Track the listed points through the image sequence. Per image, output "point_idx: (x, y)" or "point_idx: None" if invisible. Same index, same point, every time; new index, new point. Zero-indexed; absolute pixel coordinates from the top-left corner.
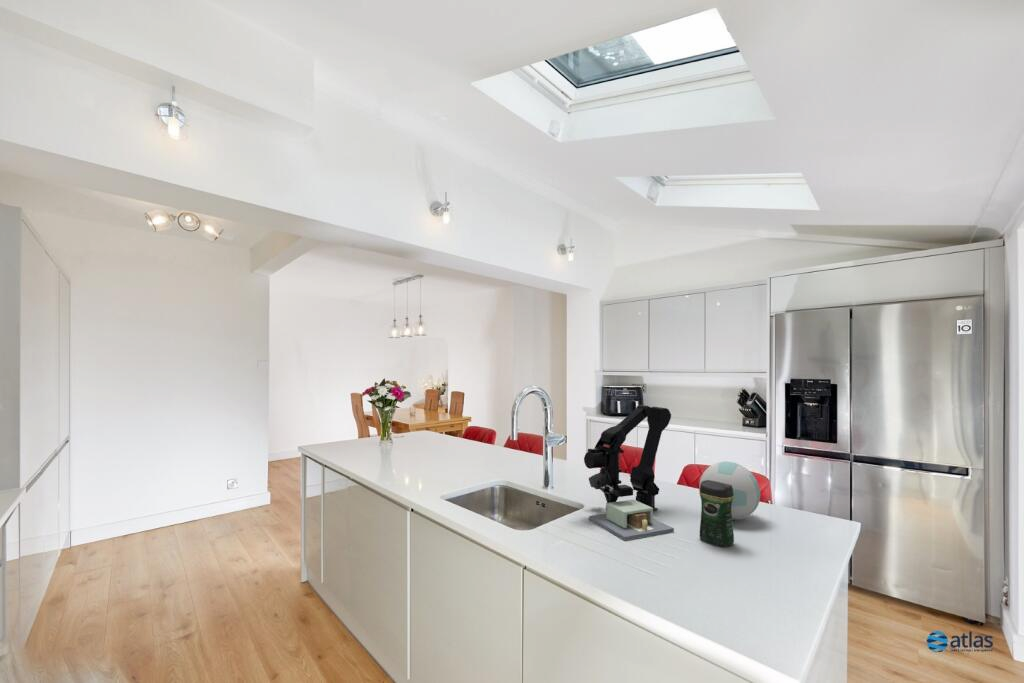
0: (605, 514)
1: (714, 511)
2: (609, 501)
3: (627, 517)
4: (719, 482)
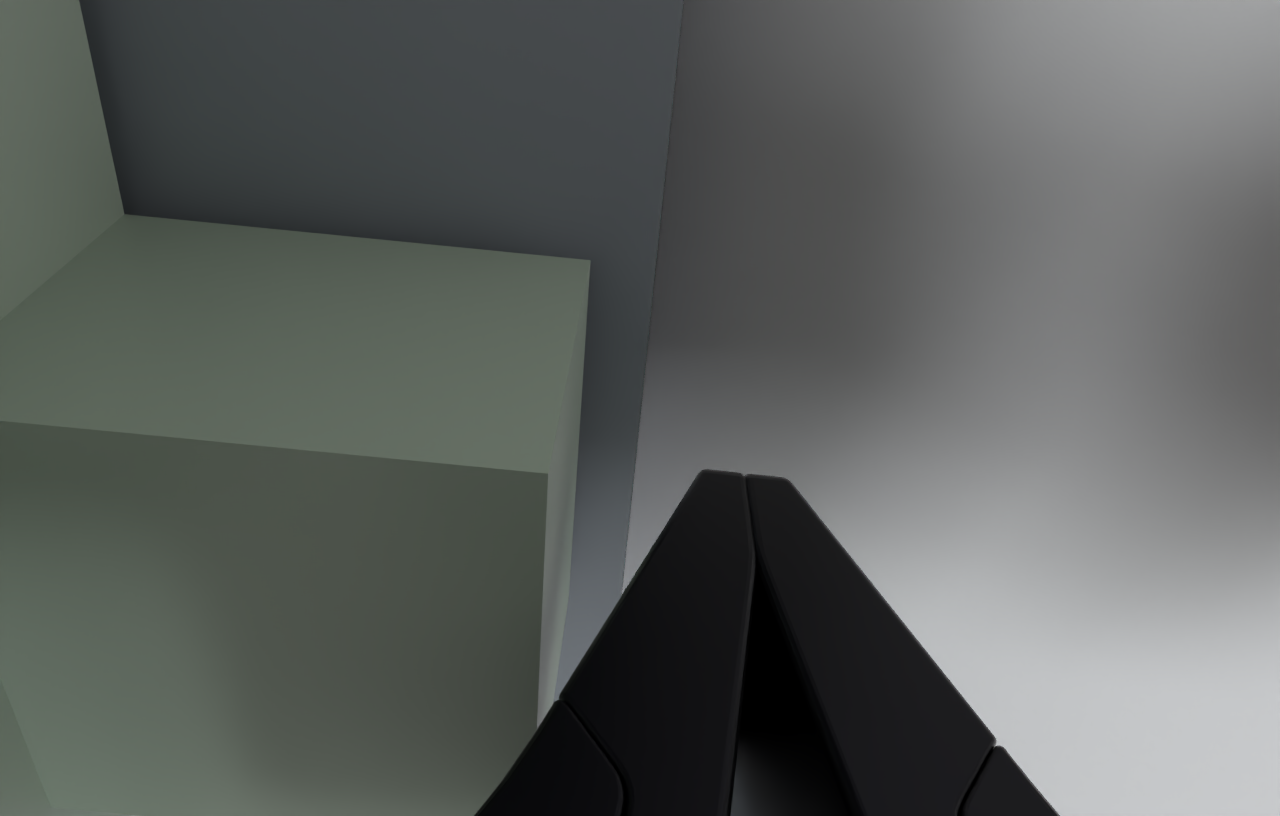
0: (571, 74)
1: None
2: (643, 681)
3: None
4: None
